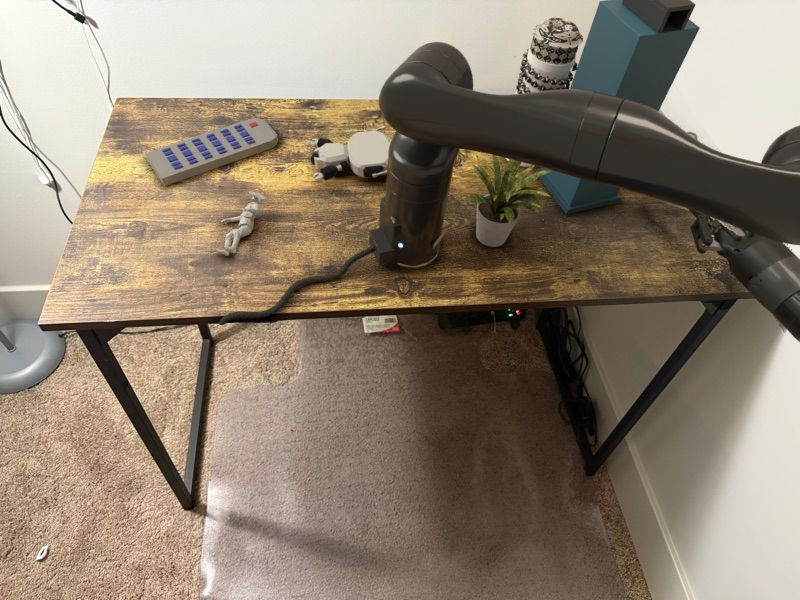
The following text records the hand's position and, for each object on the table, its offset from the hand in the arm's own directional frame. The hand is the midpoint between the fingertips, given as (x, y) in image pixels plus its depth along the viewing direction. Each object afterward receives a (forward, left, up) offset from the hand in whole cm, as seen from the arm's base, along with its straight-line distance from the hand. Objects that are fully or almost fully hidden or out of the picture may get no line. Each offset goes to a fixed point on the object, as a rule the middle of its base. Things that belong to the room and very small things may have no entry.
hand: (697, 196), depth 90 cm
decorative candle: (-14, +28, -10) cm, 33 cm away
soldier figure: (-69, +22, -10) cm, 73 cm away
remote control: (-70, +43, -10) cm, 83 cm away
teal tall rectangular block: (-9, +16, -10) cm, 21 cm away
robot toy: (-47, +33, -10) cm, 58 cm away
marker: (0, +1, -3) cm, 4 cm away
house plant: (-31, +9, -10) cm, 34 cm away
